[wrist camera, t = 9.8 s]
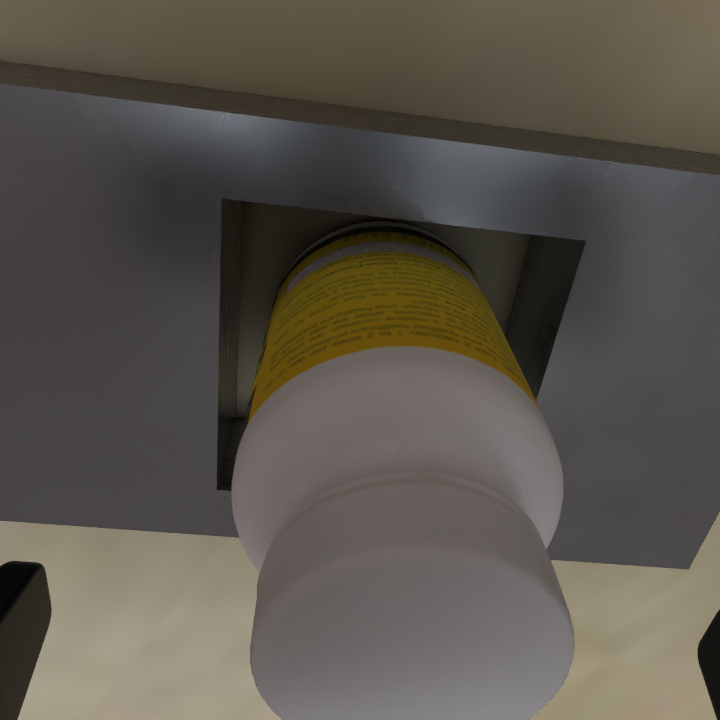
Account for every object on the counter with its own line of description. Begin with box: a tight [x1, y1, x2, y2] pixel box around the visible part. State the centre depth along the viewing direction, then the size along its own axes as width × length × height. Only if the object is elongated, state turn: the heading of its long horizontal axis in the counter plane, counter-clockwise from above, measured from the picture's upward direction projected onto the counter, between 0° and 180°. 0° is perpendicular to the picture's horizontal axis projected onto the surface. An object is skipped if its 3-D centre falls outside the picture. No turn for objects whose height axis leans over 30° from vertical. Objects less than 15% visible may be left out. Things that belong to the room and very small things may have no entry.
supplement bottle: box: [231, 221, 574, 720], centre depth 12 cm, size 5×5×10 cm
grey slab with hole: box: [0, 61, 720, 569], centre depth 15 cm, size 18×10×3 cm, turn 83°
